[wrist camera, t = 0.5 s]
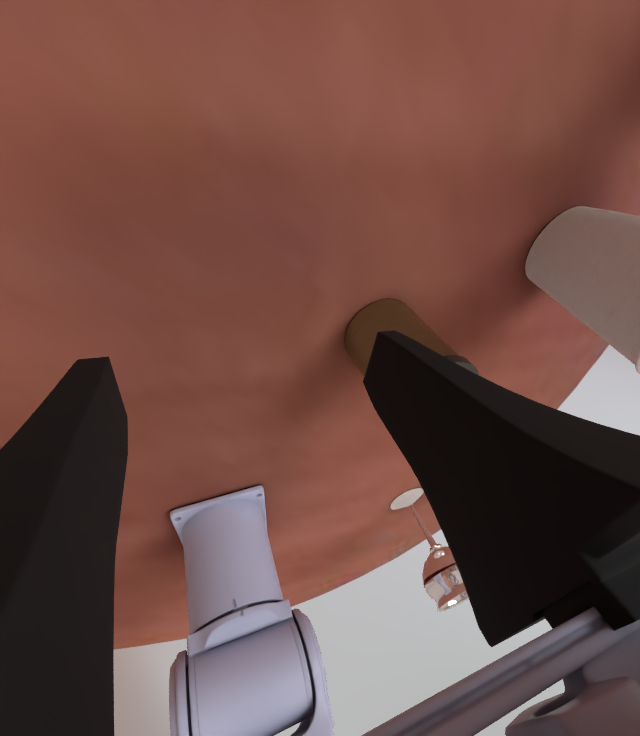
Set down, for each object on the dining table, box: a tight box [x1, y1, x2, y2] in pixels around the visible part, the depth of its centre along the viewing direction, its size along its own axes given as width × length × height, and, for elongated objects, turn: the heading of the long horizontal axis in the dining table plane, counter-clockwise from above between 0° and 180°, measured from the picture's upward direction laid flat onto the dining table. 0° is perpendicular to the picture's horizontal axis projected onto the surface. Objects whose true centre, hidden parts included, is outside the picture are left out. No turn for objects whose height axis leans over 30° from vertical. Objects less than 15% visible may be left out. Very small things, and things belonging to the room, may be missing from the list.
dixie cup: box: [525, 206, 640, 374], centre depth 22 cm, size 8×8×10 cm
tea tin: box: [345, 299, 479, 377], centre depth 22 cm, size 6×6×7 cm
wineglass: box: [390, 488, 469, 612], centre depth 42 cm, size 7×7×12 cm
